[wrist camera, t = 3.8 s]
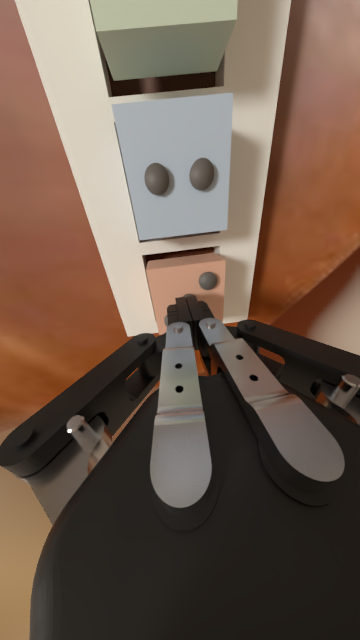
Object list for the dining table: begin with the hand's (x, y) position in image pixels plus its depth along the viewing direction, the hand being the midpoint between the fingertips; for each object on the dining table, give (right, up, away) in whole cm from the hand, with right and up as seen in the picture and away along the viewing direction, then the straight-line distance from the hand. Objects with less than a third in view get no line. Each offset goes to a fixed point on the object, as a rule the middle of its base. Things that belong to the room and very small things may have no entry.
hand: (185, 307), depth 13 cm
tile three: (0, +2, +4) cm, 4 cm away
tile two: (-1, +9, -1) cm, 9 cm away
